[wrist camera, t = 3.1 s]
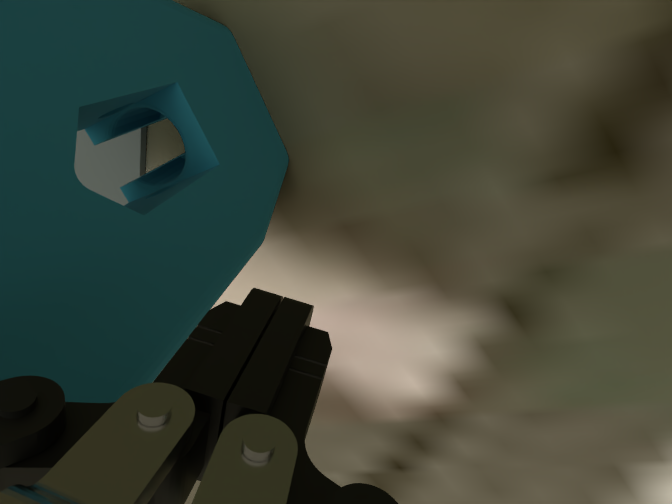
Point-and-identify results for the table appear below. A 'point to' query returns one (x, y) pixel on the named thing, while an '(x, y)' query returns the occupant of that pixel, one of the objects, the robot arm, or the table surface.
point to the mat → (110, 163)
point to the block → (142, 193)
